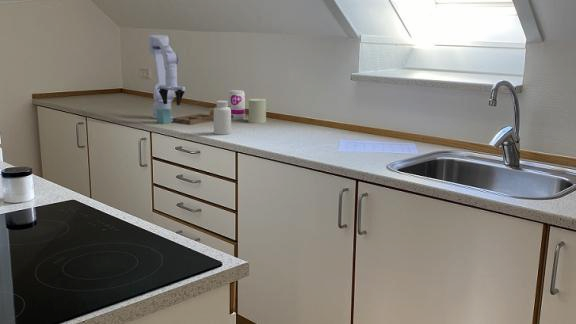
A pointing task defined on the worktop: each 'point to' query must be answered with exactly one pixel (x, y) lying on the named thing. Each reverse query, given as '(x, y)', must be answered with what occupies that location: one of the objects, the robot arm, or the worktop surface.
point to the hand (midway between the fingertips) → (172, 104)
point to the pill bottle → (222, 118)
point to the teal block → (163, 116)
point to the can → (257, 110)
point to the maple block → (211, 111)
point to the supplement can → (237, 104)
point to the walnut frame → (194, 119)
